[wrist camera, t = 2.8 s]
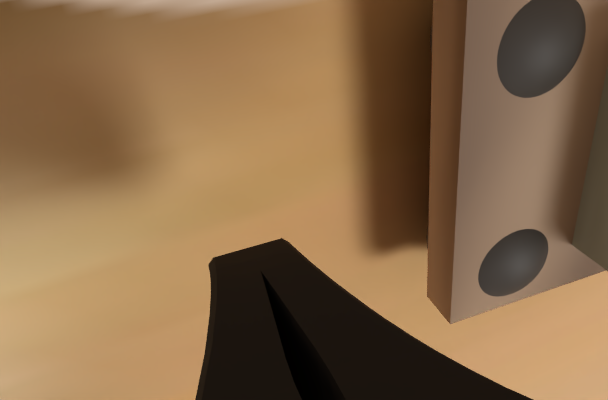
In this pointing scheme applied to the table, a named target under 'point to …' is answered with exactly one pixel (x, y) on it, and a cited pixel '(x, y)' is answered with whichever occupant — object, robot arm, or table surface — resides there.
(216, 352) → the robot arm
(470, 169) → the square caster platform
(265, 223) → the table surface
